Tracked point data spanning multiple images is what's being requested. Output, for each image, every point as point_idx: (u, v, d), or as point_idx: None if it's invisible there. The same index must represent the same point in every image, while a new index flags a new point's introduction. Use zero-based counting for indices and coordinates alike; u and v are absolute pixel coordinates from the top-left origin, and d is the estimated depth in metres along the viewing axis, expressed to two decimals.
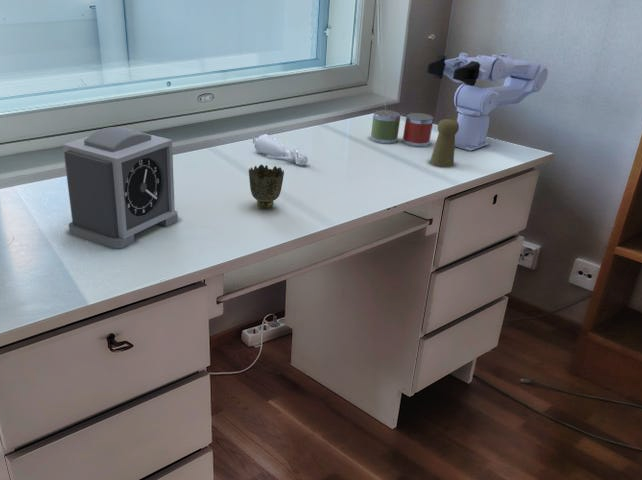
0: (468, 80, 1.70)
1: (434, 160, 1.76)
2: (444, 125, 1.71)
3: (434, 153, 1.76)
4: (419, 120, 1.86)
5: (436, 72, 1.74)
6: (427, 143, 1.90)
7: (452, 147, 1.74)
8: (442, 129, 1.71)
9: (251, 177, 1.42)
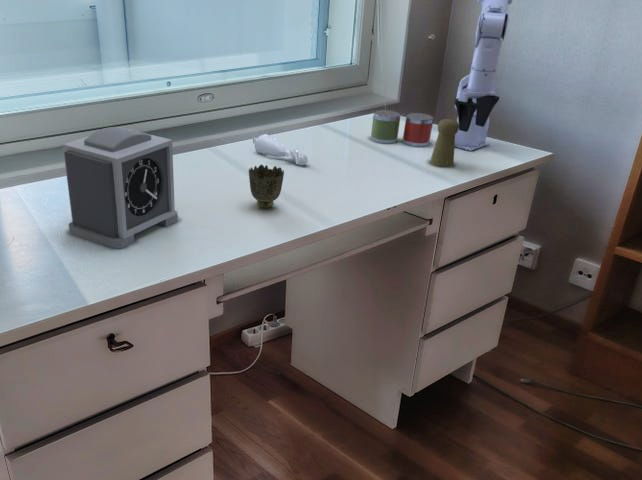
0: None
1: (434, 160, 1.76)
2: (444, 125, 1.71)
3: (434, 153, 1.76)
4: (419, 120, 1.86)
5: None
6: (427, 143, 1.90)
7: (452, 147, 1.74)
8: (442, 129, 1.71)
9: (251, 177, 1.42)
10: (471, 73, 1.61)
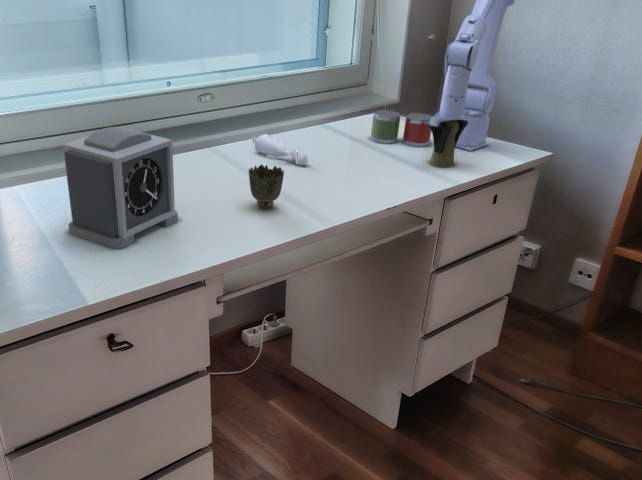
0: None
1: (434, 160, 1.76)
2: None
3: (434, 153, 1.76)
4: (419, 120, 1.86)
5: None
6: (427, 143, 1.90)
7: (452, 147, 1.74)
8: None
9: (251, 177, 1.42)
10: (442, 99, 1.68)
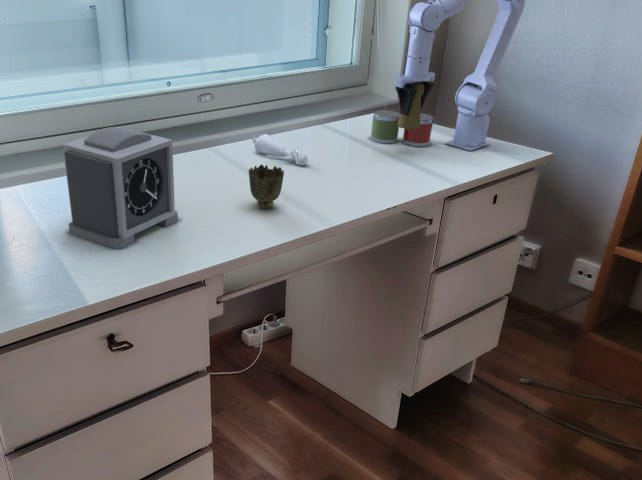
0: None
1: (400, 122, 1.79)
2: None
3: (401, 115, 1.79)
4: None
5: None
6: (427, 143, 1.90)
7: (418, 109, 1.77)
8: None
9: (251, 177, 1.42)
10: (407, 60, 1.71)
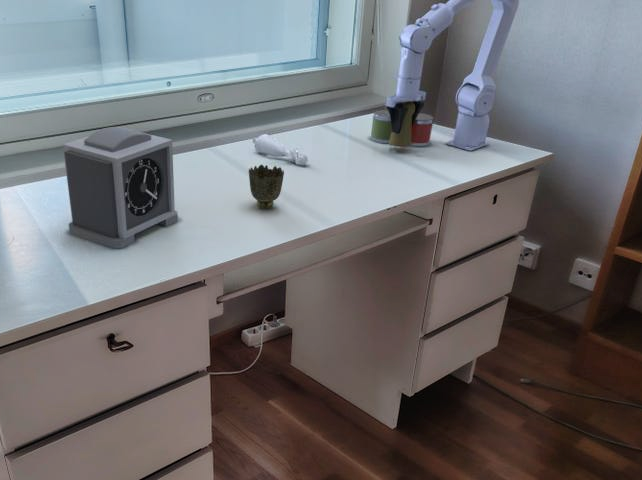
0: None
1: (392, 140, 1.83)
2: None
3: (392, 134, 1.82)
4: (419, 120, 1.86)
5: None
6: (427, 143, 1.90)
7: (409, 128, 1.81)
8: None
9: (251, 177, 1.42)
10: (398, 80, 1.75)
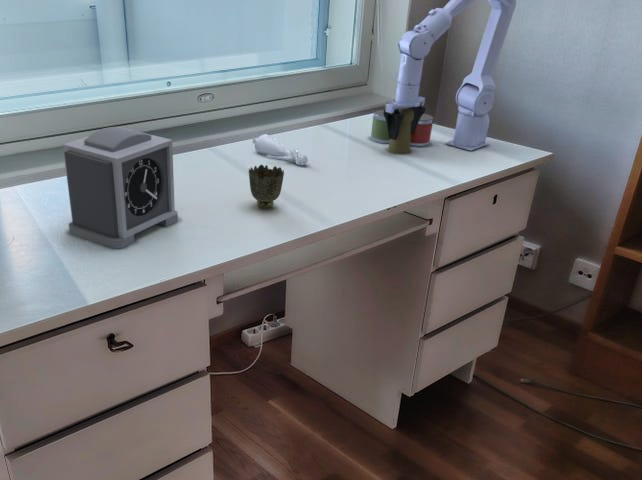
0: None
1: (391, 147, 1.84)
2: None
3: (391, 140, 1.84)
4: (419, 120, 1.86)
5: None
6: (427, 143, 1.90)
7: (408, 135, 1.82)
8: None
9: (251, 177, 1.42)
10: (397, 86, 1.76)
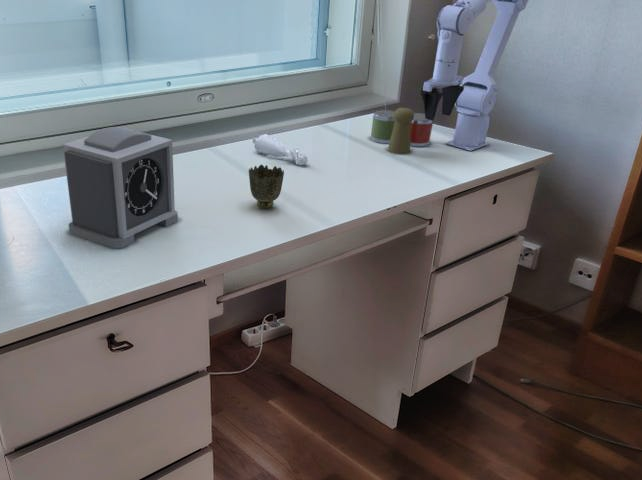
0: None
1: (391, 147, 1.84)
2: (399, 114, 1.79)
3: (391, 140, 1.84)
4: (419, 120, 1.86)
5: None
6: (427, 143, 1.90)
7: (408, 135, 1.82)
8: (398, 117, 1.79)
9: (251, 177, 1.42)
10: (435, 64, 1.69)
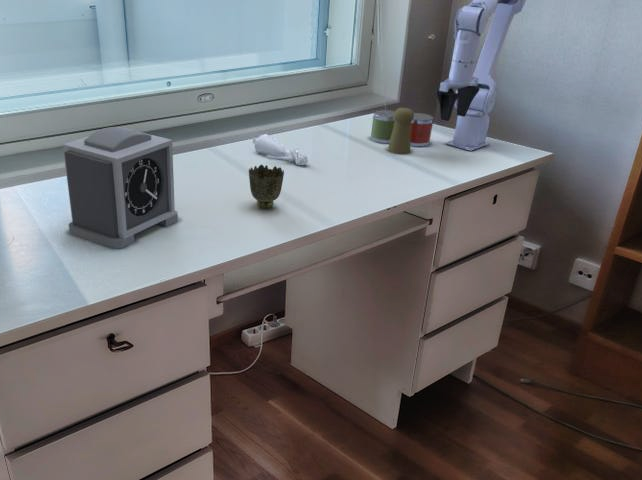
0: None
1: (391, 147, 1.84)
2: (399, 114, 1.79)
3: (391, 140, 1.84)
4: (419, 120, 1.86)
5: None
6: (427, 143, 1.90)
7: (408, 135, 1.82)
8: (398, 117, 1.79)
9: (251, 177, 1.42)
10: (452, 65, 1.69)
